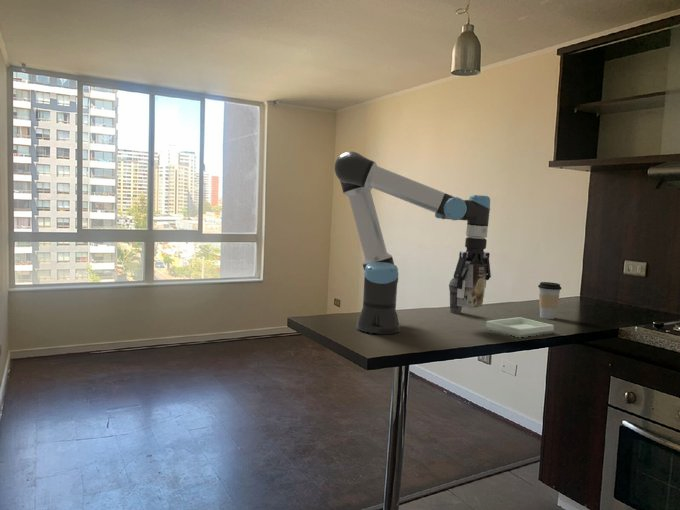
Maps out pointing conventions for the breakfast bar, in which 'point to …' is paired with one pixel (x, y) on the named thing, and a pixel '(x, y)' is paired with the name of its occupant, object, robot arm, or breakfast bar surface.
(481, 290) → the coffee box
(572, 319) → the breakfast bar surface
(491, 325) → the sage tray
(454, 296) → the beverage cup
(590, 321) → the breakfast bar surface
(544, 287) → the coffee cup
